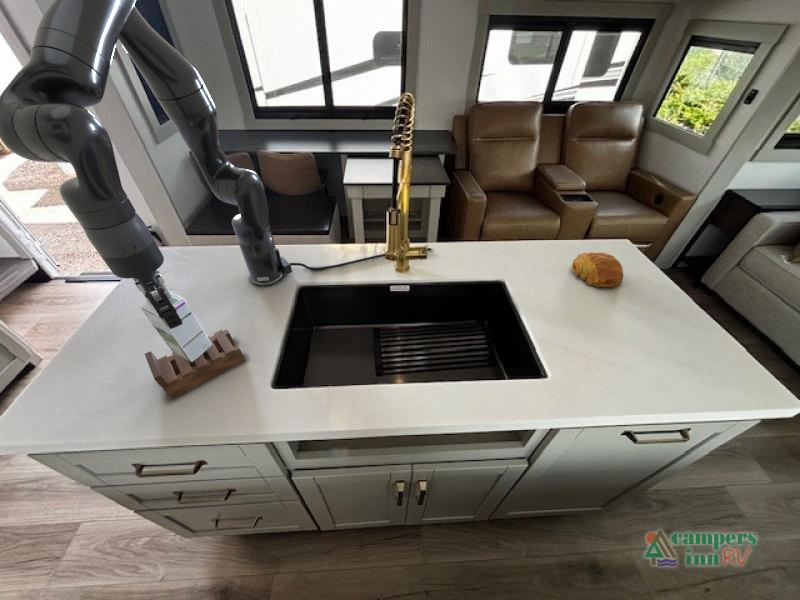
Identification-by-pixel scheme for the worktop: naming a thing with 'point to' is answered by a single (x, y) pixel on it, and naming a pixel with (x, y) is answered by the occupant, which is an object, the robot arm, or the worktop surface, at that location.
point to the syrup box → (180, 329)
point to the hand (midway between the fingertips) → (170, 314)
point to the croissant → (598, 269)
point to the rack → (202, 372)
